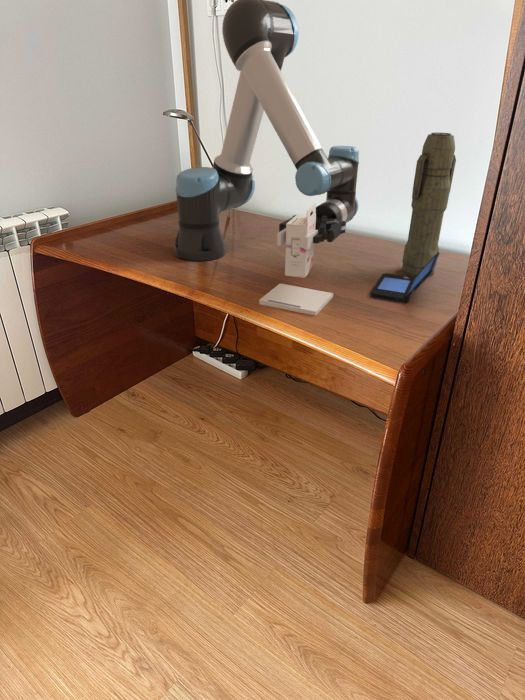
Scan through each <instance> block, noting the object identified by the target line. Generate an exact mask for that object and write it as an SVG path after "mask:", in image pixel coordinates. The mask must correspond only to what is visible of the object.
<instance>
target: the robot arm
mask: <svg viewBox="0 0 525 700" xmlns="http://www.w3.org/2000/svg"><path fill="white" fill-rule="evenodd" d="M224 14H225V15H224V16H223V20H222V27H221V28H222V31H221V33H222V37H223V38H222V39H223V43H224V46H225V49H226V51H227V54H228V56H229V58H230V60H231V62H232V64H233V66H234V68H235V69H236V70H237V71H238V72H239V77H238V81H237V85H236V90H235V93H234V98H233V102H232V107H231V111H230V115H229V119H228V122H227V123H228V124H227V126H226V127H227V128H226V132H225V137H224V140H223V145H222V148H221V153H220V154H219V155H217V156H216V157H214V159H213V164H212V167H208V166H198V167H192V168H188V169H184V170H182V171H180V172H179V173H178V174H177V175H176V179H175V180H176V181H175V183H176V184H175V185H176V187H175V192H176V204H177V216H178V217H177V218H178V219H177V220H178V230H177V234H176V239H175V242H174V245H173V246H174V248H173V249H174V255H175V256H176V257H178V258H179V259H181V260H182V259H183V260H187V261H195V262H196V261H200V262H201V261H202V262H204V261H211V260H216V259H220V258H222V257H224V256H225V255H226V253H227V246H226V242H225V240H224V236H223V234H222V233H223V232H222V231H221V228H220V213H222V212H225V211H228V210H232V209H237V208H239V207H240V208H241V207H242V206H244V205H245V204H247V203H248V202H249V201H250V200H251V199H252V198H253V196H254V193H255V189H256V182H255V180H254V175H253V171H254V168H253V167H252V165H251V158H252V155H253V153H254V149H255V144H256V142H257V141H256V140H257V137H258V133H259V131H260V128H261V127H260V126H261V123H262V118H263V115H264V112H265V115H266V116H267V118H268V120H269V122H270V123H271V125H272V127H273V129H274V131H275V132H276V135H277V136H278V138H279V140H280V141H281V143H282V145H283V148H284V149H285V150H286V152H287V155H288V156H289V158H290V160H291V162H292V164H293V166H294V167H295V169H296V172H295V174H294V175H295V178H294V179H295V186H296V188H297V189H298V191H299V192H300V193H301V194H302V195H305V196H307V197H314V196H321V195H324V194H325V193H326V198H325V199H326V201H324V202H321V203H320V204H319V205H317V206H316V225H315V230H314V231H313V232H311V233H310V234H308V235H307V236H305V237H304V250H308V249H309V248H311V247H312V246H313V245H314V246H315V245H316V244H319V243H323V242H324V241H327V242H328V243H332V242H334V241H335V240H336V239H337V238H338V237H339V236H340V235H342V234H344V233H346V227H347V223H348V222H350V221H351V220H353V219H354V218H355V216H356V215H357V213H358V211H359V201H358V199H357V195H356V194H357V193H356V192H357V181H358V171H359V164H360V162H359V159H360V157H359V155H360V154H359V152H360V150H359V149H358V148H357V147H356V146H353V145H352V146H351V145H335V146H331V147H329V153H328V156H327V155H326V153H325V152H324V150H323V148H322V146H321V144H320V142H319V140H318V138H317V136H316V135H315V133H314V131H313V128H312V127H311V125H310V123H309V121H308V119H307V118H306V116H305V114H304V112H303V110H302V108H301V106H300V105H299V103H298V100H297V99H296V97H295V95H294V94H293V91H292V90H291V88H290V86H289V85H288V82H287V81H286V78H285V77H284V75H283V73H282V68H283V65H284V62H285V59H286V58H287V57H288V56H290V55H291V54H292V53H293V51H294V50H295V48H296V46H297V45H298V41H299V35H300V34H299V33H300V32H299V24H298V21H297V18H296V16H295V14H294V13H293V11H292V10H291V9H290V8H289V7H288V6H286V5H285V4H281V3H279V2H277V1H275V0H235V1H234V2H232V4H230V6H229V7H228V8H227V10H226V11H225V13H224ZM312 214H313V212H311V213H310V216H311V215H312ZM296 215H297V214H294V215H292V217H290V218H288V219H287V220H285V221H283V222H280V223H279V224H278V228H279V229H278V232H277V233H276V235H277V236H276V237H277V238H276V246H277V247H281V246H282V245H284V244H286V224H287V223H288V222H289V221H290V220H291V219H292V218H294V217H295V216H296Z"/></svg>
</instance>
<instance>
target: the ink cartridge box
mask: <svg viewBox="0 0 525 700" xmlns="http://www.w3.org/2000/svg"><path fill="white" fill-rule="evenodd" d="M316 205H317V204H316V203H314V204H313V205H312V206H311V207H309V208H308V209H307V210H306V215H297V214H295V215H296V216H295V217H294V218H292V217H291V218H292V219H291V220H290V221H289V222H288V223H287V224H286V243H285V258H284V259H285V261H284V264H285V265H284V276H285V277H286V276H287V277H295V278H303V279H304V278H306V277H307V275H308V274H309V273H310V271H311V270H312V268H313V266H314V253H315V252H314V251H315V245H313V246H312V247H311V248H309V249H308V250H304V237H305V236H307V235H308V234H310V233H311V232H313V231H314V230H315V225H316V207H317V206H316ZM311 212H313V214H312V215H311V216H310V213H311Z"/></svg>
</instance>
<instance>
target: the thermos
mask: <svg viewBox="0 0 525 700" xmlns="http://www.w3.org/2000/svg"><path fill="white" fill-rule="evenodd" d="M455 151H456V143H455V135H453V134H452V133H451V132H430V134H427V137H426V139H425V141H424V143H423V146H422V149H421V154H420V156H419V157H418V159H417V160H416V166H415V170H414V171H415V172H414V179H413V186H412V193H411V209H412V210H411V219H410V222H409V223H410V224H409V231H408V235H407V236H408V237H407V241H406V243H405V245H404V250H403V255H402V267H401V272H402V273H403V274H404V275H405V276H407V275H408V276H409V277H414V276H415V275H418V273H419V272H420V271H421V270H422V269H423V268H424V267H425V266H426V265H427V263H428V262H429V261H430V260H431V259H432V258H433V257H434V256H435V255H436V254H437V253H438V252H439V251H440V247H439V240H440V236H441V235H440V234H441V231H442V226H443V220H444V213H445V211H446V210H447V208H448V203H449V197H450V193H451V189H452V188H451V187H452V183H453V178H454V172H455V167H456V162H457V159H456V155H455ZM439 253H440V252H439ZM437 263H438V261H437V262H436V264H435V266H434V269H433V271H432V273H431V274H430V276H429V277H430V278H431V277H433V276H434V275H435V270H436V269H435V268H436V266H437ZM429 277H428V278H429Z"/></svg>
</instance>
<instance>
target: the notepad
mask: <svg viewBox="0 0 525 700" xmlns="http://www.w3.org/2000/svg"><path fill="white" fill-rule="evenodd" d="M333 297H334V292H333V293H332V292H329V291H322V290H318V289H311V288H308V287H303V286H302V287H301V286H297V285H292V284H284V283H278V285H276V286H275V287H274V288H272V289H271V290H270V291H269V292H267V293H266V294H265V295H264V296H262V297H261V298H259V300H258V304H259V305H261V306H265V307H271V308H275V309H280V310H281V309H282V310H285V311H290V312H296V313H300V314H305V315H309V316H317V315H318V314H319V313H320V312H321V311H322V309H324V308H325V306H326V305H328V303H329V302H330V301H331V300H332V299H333Z"/></svg>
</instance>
